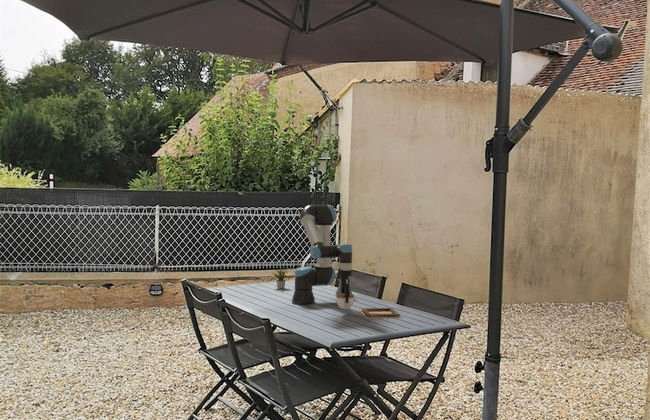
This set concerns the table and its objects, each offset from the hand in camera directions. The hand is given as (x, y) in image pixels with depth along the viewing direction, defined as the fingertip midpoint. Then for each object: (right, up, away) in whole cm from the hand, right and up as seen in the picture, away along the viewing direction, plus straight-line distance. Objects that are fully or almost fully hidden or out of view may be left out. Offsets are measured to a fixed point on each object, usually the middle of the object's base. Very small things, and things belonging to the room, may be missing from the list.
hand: (345, 306), depth 346 cm
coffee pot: (-2, -3, +59) cm, 59 cm away
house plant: (-45, -2, +92) cm, 102 cm away
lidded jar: (0, -1, 0) cm, 1 cm away
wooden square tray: (+21, -5, +1) cm, 22 cm away
